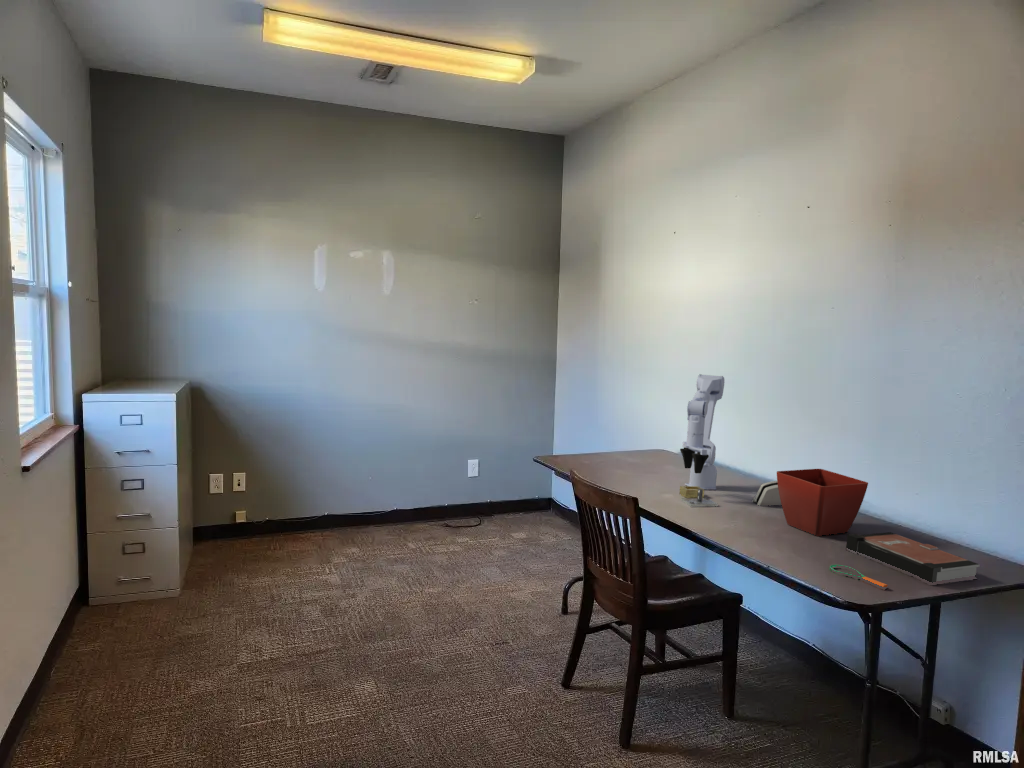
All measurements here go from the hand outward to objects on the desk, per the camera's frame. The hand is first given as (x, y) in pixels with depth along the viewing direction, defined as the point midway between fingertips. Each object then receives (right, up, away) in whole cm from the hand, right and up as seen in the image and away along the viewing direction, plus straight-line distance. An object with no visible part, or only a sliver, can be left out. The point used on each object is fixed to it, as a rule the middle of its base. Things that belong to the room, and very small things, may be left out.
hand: (692, 470), depth 242 cm
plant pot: (+30, -14, -32) cm, 46 cm away
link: (0, -9, +1) cm, 10 cm away
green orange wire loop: (+22, -19, -72) cm, 78 cm away
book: (+43, -18, -60) cm, 76 cm away
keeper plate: (0, -10, -9) cm, 14 cm away
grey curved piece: (+29, -12, -5) cm, 32 cm away
